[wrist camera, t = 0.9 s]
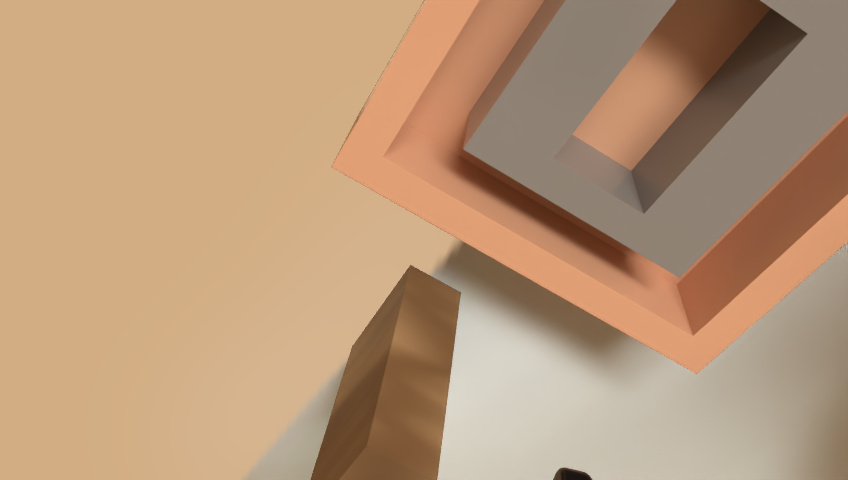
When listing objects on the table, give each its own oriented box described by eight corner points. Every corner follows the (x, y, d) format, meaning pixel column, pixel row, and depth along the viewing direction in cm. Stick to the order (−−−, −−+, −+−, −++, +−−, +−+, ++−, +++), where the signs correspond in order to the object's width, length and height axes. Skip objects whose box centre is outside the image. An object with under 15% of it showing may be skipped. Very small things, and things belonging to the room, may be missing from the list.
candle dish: (1005, -21, 17) (1105, 16, 14) (674, 301, 24) (696, 373, 21) (609, -325, 15) (630, -355, 12) (357, 116, 21) (331, 166, 18)
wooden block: (460, 292, 24) (436, 480, 18) (398, 371, 27) (356, 564, 20) (410, 264, 24) (366, 446, 17) (352, 346, 26) (293, 535, 19)
